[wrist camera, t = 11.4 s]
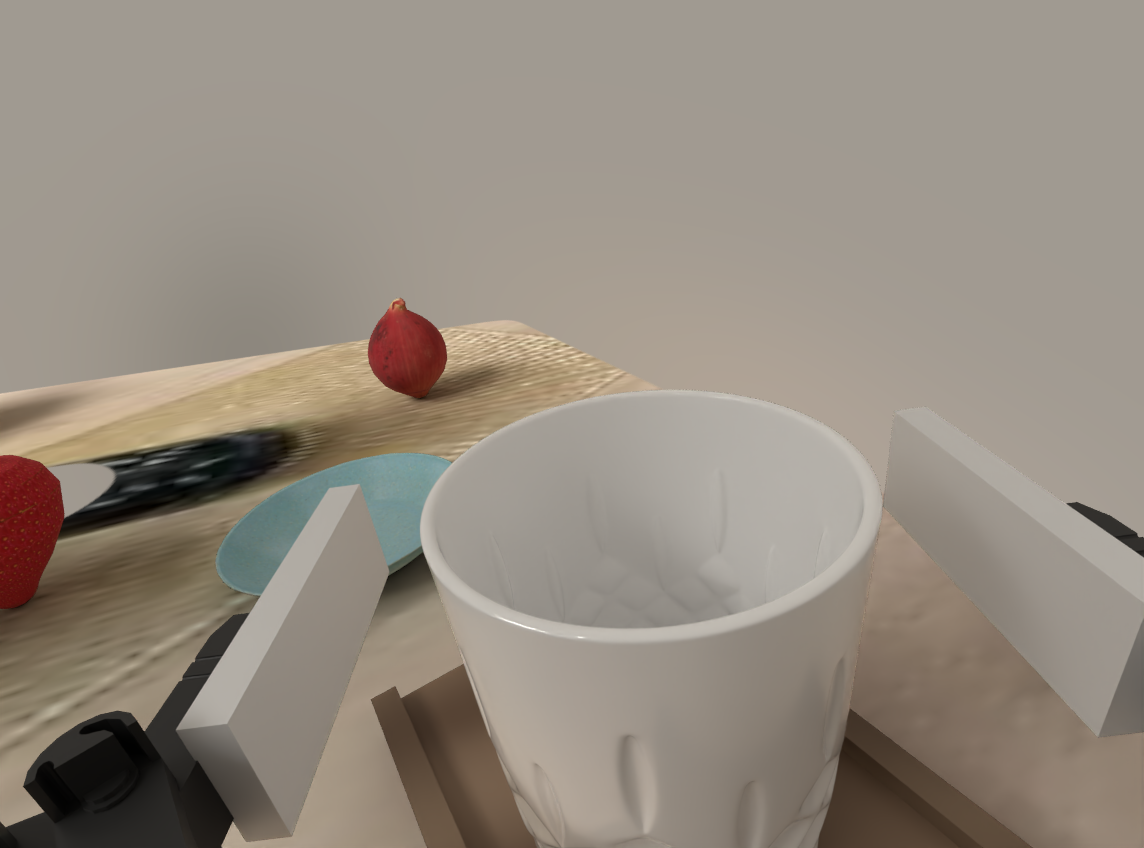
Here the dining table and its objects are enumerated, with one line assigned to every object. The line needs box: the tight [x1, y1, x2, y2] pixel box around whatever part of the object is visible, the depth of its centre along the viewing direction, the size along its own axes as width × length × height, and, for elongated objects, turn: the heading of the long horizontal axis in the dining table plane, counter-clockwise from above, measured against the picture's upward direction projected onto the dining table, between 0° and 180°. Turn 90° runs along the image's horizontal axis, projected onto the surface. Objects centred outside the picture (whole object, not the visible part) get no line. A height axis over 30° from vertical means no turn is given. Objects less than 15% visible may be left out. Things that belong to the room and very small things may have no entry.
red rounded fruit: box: [368, 298, 447, 398], centre depth 45 cm, size 6×6×8 cm
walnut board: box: [371, 664, 1032, 848], centre depth 15 cm, size 16×11×2 cm
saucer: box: [216, 453, 452, 596], centre depth 29 cm, size 12×12×2 cm
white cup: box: [420, 390, 883, 848], centre depth 13 cm, size 8×8×10 cm
